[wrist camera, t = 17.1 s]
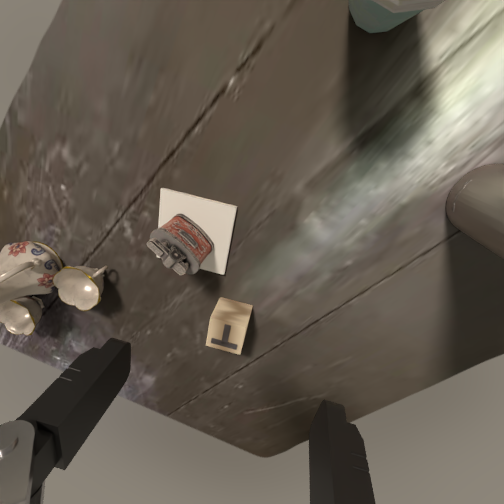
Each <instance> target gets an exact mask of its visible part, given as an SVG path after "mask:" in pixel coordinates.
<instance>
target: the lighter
mask: <svg viewBox="0 0 504 504" xmlns="http://www.w3.org/2000/svg"><path fill="white" fill-rule="evenodd" d="M147 246H148V247H149V248H150V249H151V250H152V251H153V252H155V253H156V254H157V255H158V256H159V257H160V258H161V259H162V261H163V264H164V265H165V266H166V267H167V268H171V269H174V270H175V271H176V272H177V273H178V274H179V275H183V274H184V273H187V274H195V273H196V272H197V271H198V270H199V268H200V266H201V263H202V262H203V261H204V259H205V258H206V257H207V255H208V254H210V253H211V252H212V250H213V249H214V243H213V241H212V240H211V239H210V237H209V236H208V235H207V233H206V232H205V231H204V230H203V229H202V228H201V227H200V226H199V225H198V224H196V223H195V222H194V221H193V220H191V219H190V218H188V217H187V216H185V215H184V214H180V213H179V214H176V215H175V216H174V217H172V219H171V220H170V221H169V222H167V223H166V224H164V225H163V226H162V227H159V228H157V229H155V230H154V231H152V233H151V234H150V240H149V241H148V242H147Z"/></svg>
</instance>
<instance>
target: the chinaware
mask: <svg viewBox="0 0 504 504" xmlns="http://www.w3.org/2000/svg"><path fill="white" fill-rule="evenodd" d="M107 268H108V266H105V267H103V268H101V269H99V270H98V268H96V269H93V268H91V267H87V266H77V267H71V266H66V267H64V268H63V264H62V261H61V259H60V257H59V256H58V255H57V253H56V252H55V251H54V250H53V249H52V248H50V247H49V246H47V245H45V244H43V243H40V242H30V241H25V242H20V243H9V244H7V245H5V246H4V248H3V249H2V251H1V253H0V322H1V323H3V324H5V323H6V324H5V326H6V329H7V330H8V331H9V332H10V333H12V334H17V335H18V334H23V333H24V334H25V335H32V334H33V332H34V329H35V326H36V325H37V323H38V322H39V321H40V319H41V316H42V308H43V307H45V306H44V305H43V302H42V299H39V298H37V297H35V296H34V295H38V294H49V293H51V292H53V291H54V289H55V287H57V288H59V289H58V295H59V297H60V299H61V301H63V302H64V303H66V304H68V305H73V306H74V305H76V307H77V308H78V309H79V310H82V311H88V310H90V309H92V308H93V307H94V306H95V305H97V304H98V303H99V302H100V301H101V297H100V296H101V294H102V292H103V289H104V281H103V276H105V275H103V274H102V273H104V270H105V269H107ZM26 295H33V297H28V296H26Z"/></svg>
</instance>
